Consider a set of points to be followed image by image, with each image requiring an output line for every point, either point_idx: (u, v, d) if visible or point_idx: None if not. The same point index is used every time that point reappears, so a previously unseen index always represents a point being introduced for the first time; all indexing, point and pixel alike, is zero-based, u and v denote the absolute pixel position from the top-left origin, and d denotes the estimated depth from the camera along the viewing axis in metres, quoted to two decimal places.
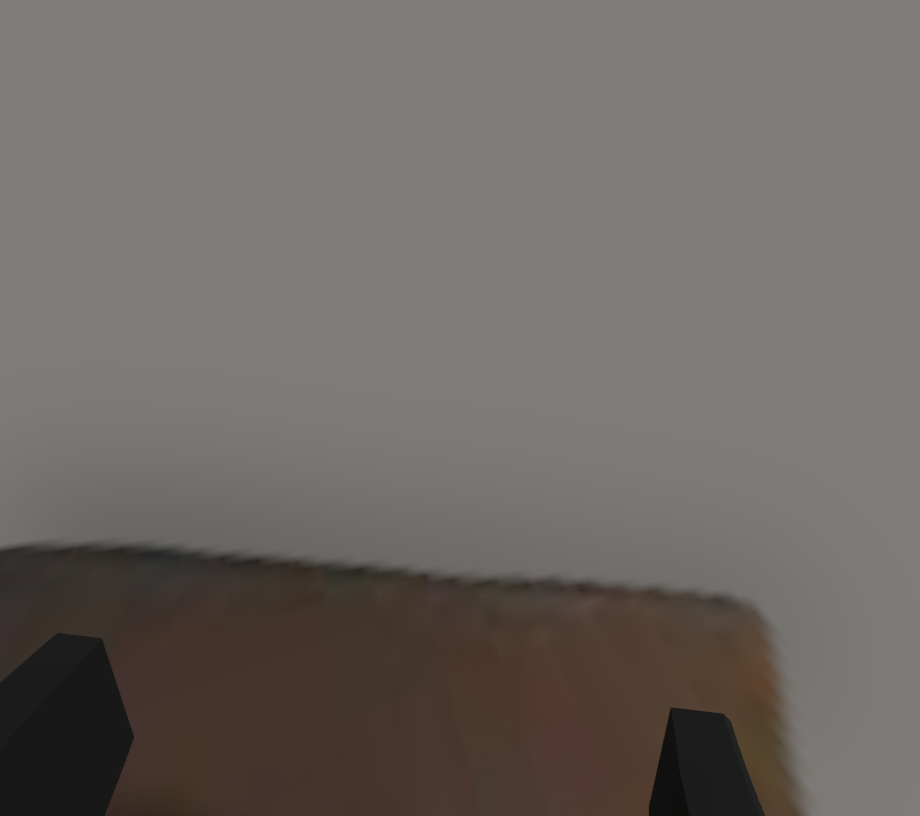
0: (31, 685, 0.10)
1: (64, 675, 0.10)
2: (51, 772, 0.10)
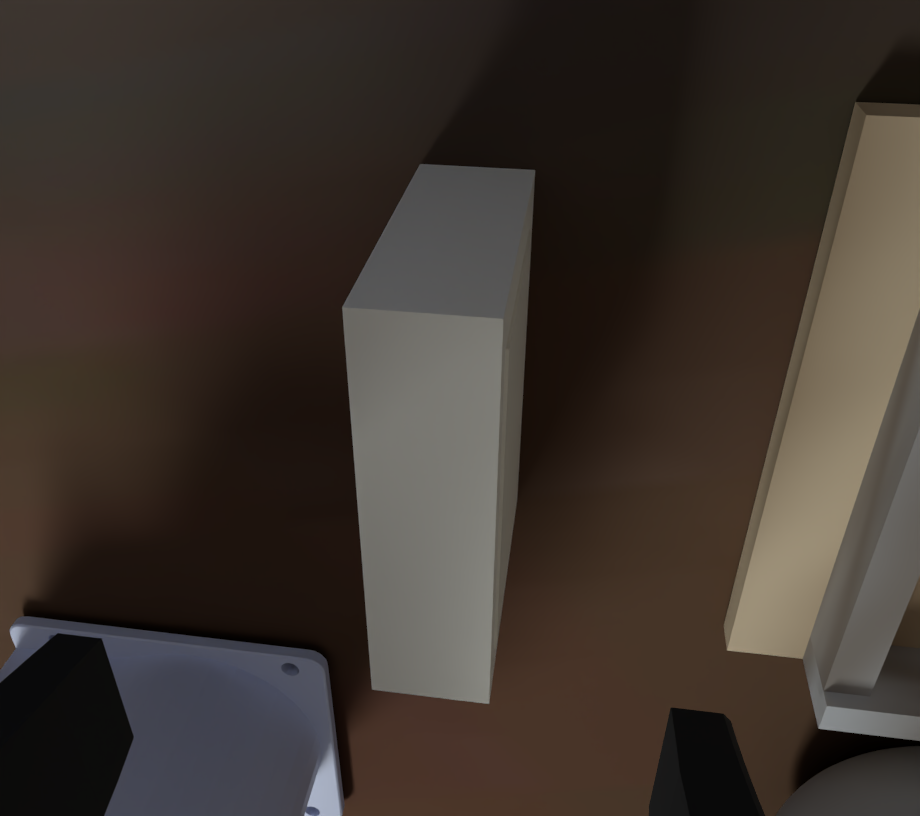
0: (31, 685, 0.10)
1: (64, 675, 0.10)
2: (51, 772, 0.10)
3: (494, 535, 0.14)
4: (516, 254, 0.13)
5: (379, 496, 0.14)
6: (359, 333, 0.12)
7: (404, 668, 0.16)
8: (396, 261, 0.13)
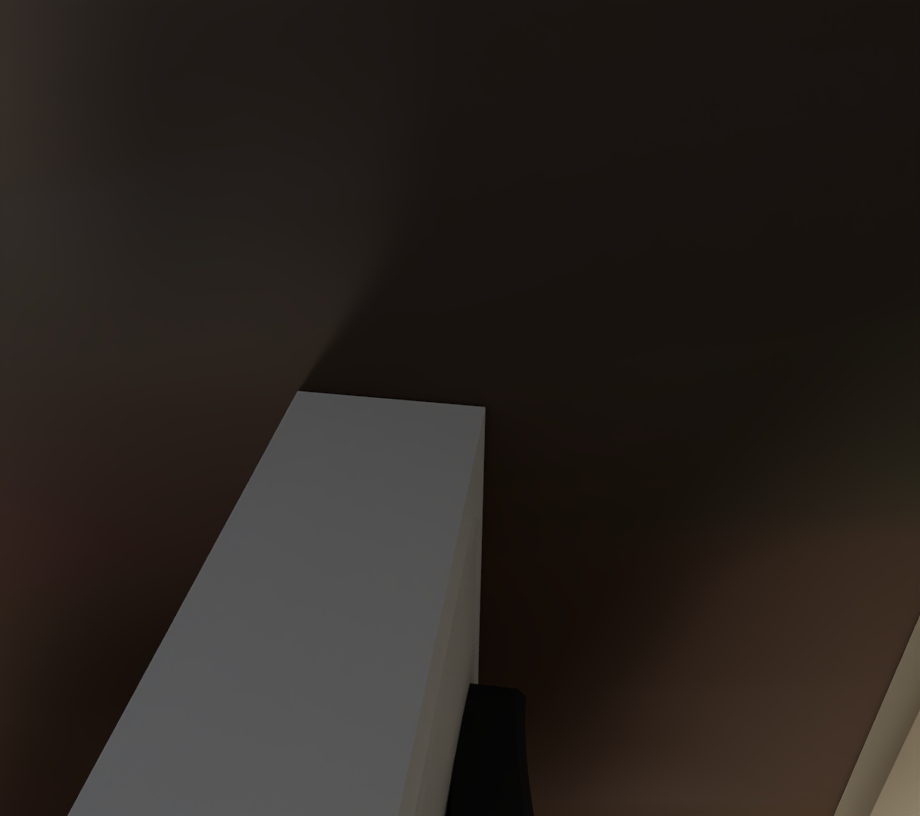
0: None
1: None
2: None
3: None
4: (423, 688, 0.07)
5: None
6: None
7: None
8: (179, 718, 0.07)
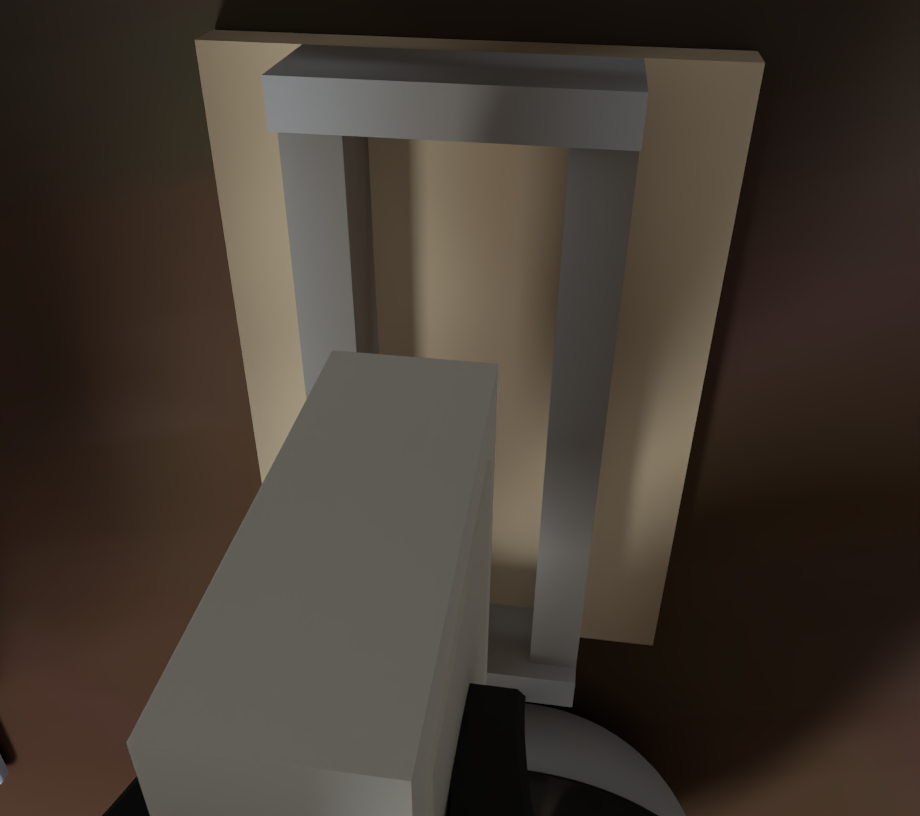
0: None
1: None
2: None
3: None
4: (452, 579, 0.08)
5: None
6: (162, 776, 0.07)
7: None
8: (250, 599, 0.08)
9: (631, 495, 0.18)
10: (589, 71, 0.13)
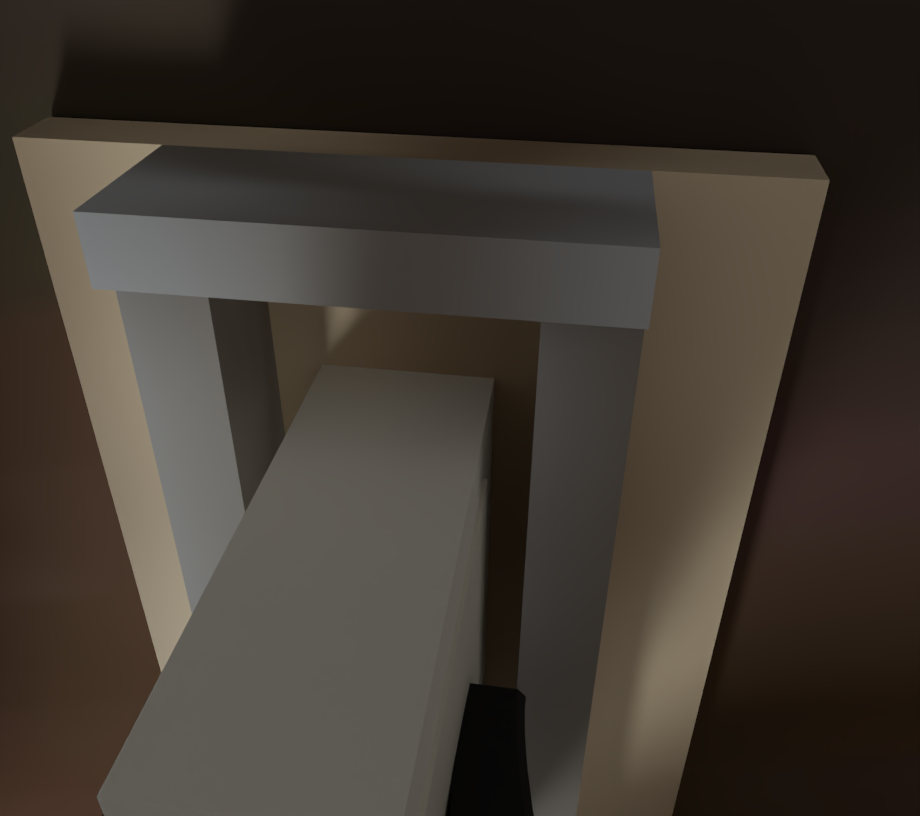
0: None
1: None
2: None
3: None
4: (444, 612, 0.08)
5: None
6: None
7: None
8: (231, 636, 0.08)
9: (633, 703, 0.14)
10: (570, 200, 0.09)
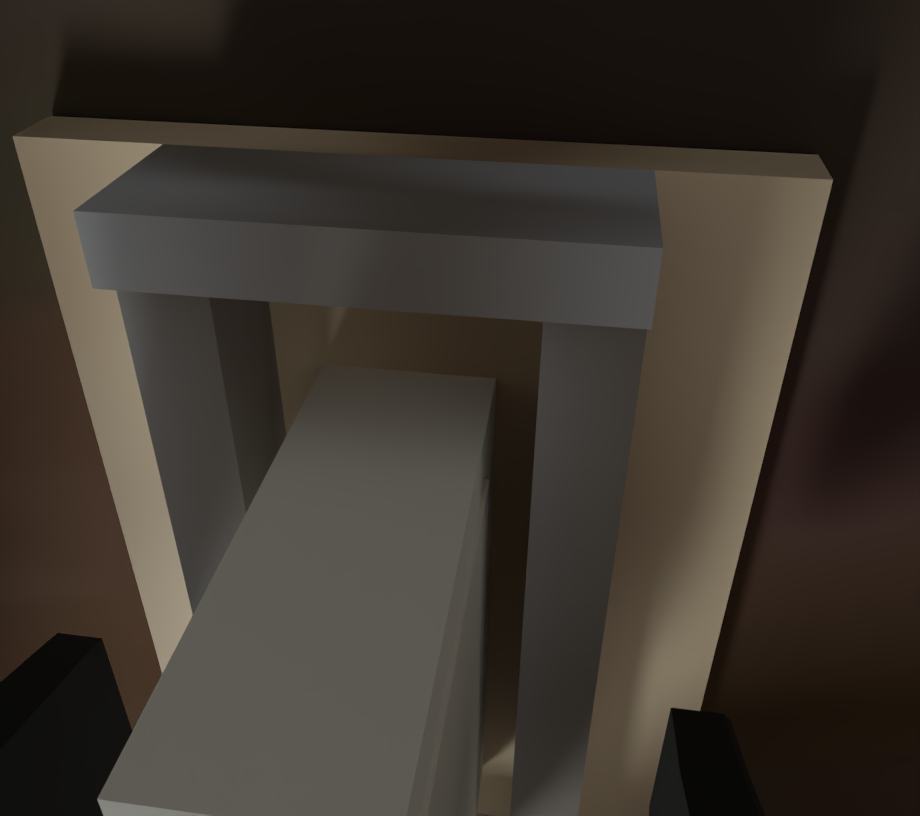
0: (31, 685, 0.10)
1: (64, 675, 0.10)
2: (51, 772, 0.10)
3: None
4: (446, 614, 0.08)
5: None
6: None
7: None
8: (233, 637, 0.07)
9: (635, 703, 0.14)
10: (573, 199, 0.09)
